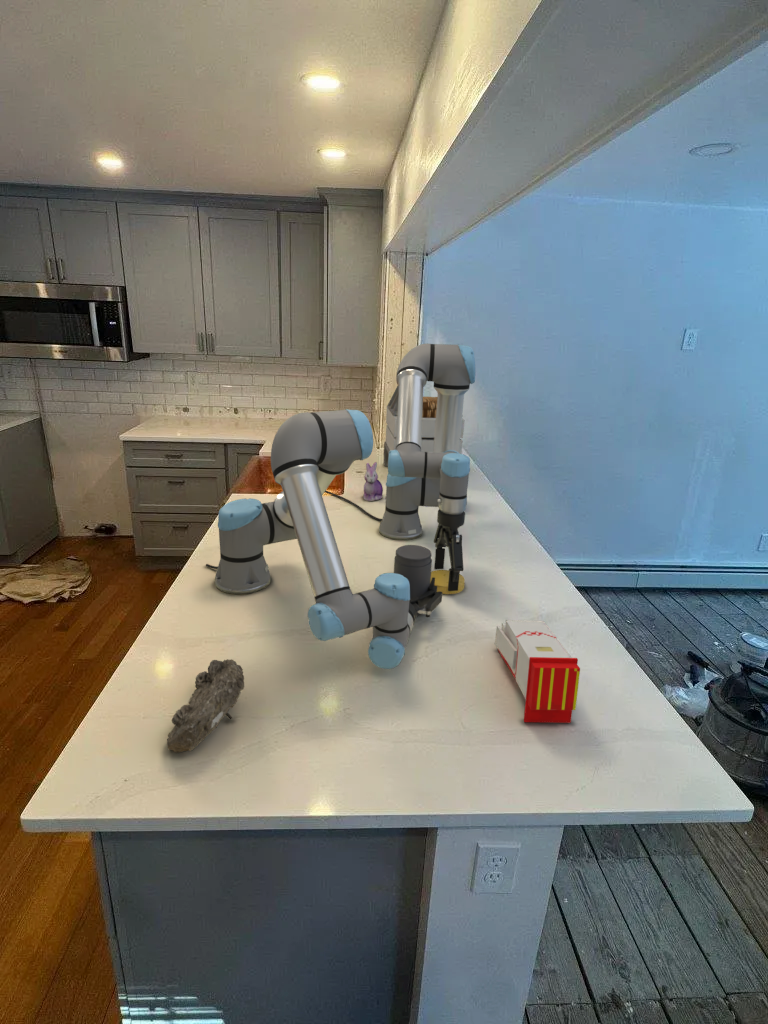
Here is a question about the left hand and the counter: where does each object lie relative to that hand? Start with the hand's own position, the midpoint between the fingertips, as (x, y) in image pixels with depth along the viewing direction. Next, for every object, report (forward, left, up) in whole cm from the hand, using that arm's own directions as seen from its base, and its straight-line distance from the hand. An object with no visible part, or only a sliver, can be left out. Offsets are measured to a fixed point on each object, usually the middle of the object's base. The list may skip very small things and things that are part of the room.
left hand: (414, 579), depth 153 cm
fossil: (-29, -57, -6) cm, 65 cm away
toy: (+30, -29, -6) cm, 42 cm away
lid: (+8, +11, -4) cm, 14 cm away
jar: (0, -4, -6) cm, 7 cm away
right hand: (+8, +11, -4) cm, 14 cm away
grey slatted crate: (-18, +126, -6) cm, 127 cm away
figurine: (-31, +81, -6) cm, 87 cm away
